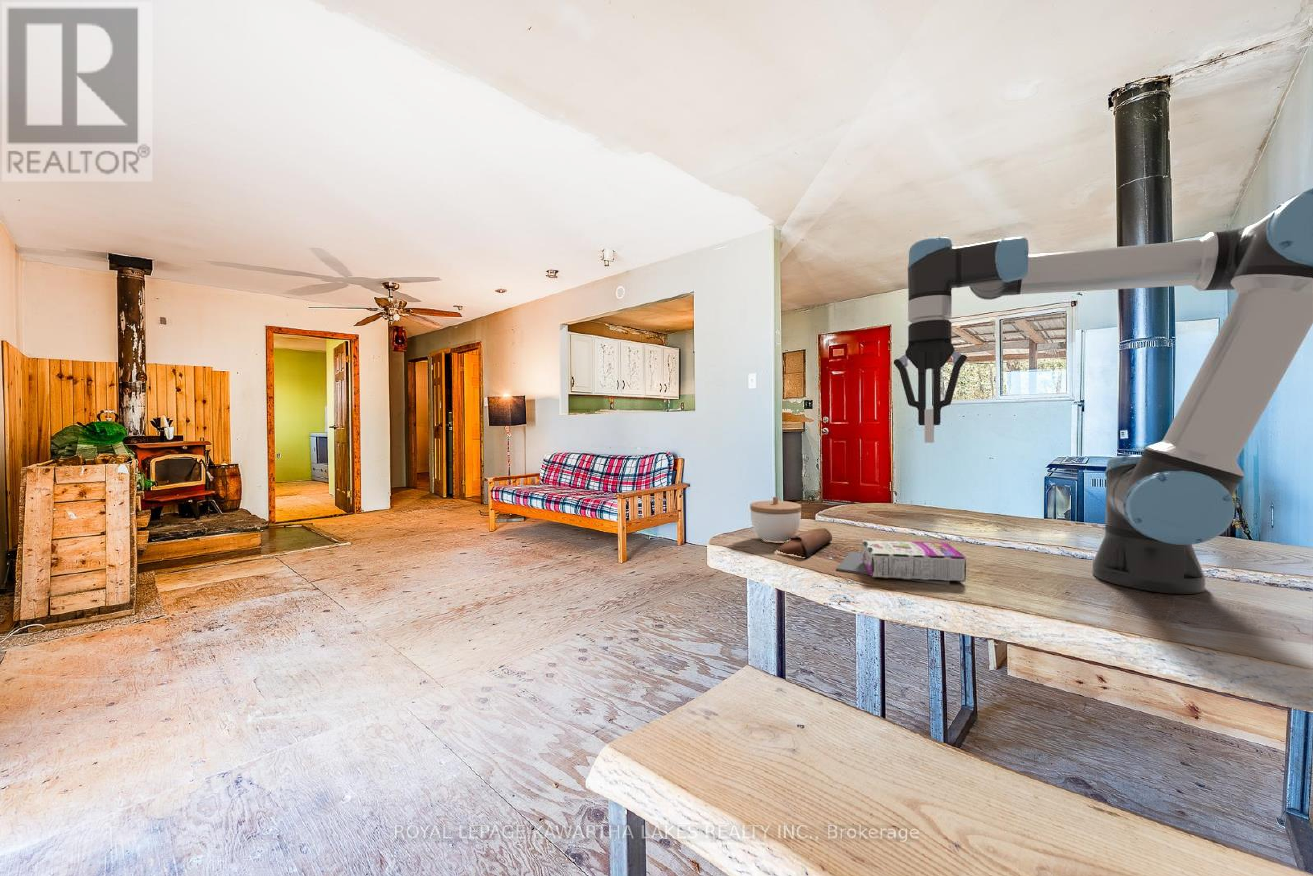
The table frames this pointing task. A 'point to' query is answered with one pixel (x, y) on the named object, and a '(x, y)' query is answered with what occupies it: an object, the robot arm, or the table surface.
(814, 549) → the sunglasses case
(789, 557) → the table surface
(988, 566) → the table surface
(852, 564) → the mat
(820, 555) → the table surface
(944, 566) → the candy bar box
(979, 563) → the table surface
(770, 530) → the lidded bowl
